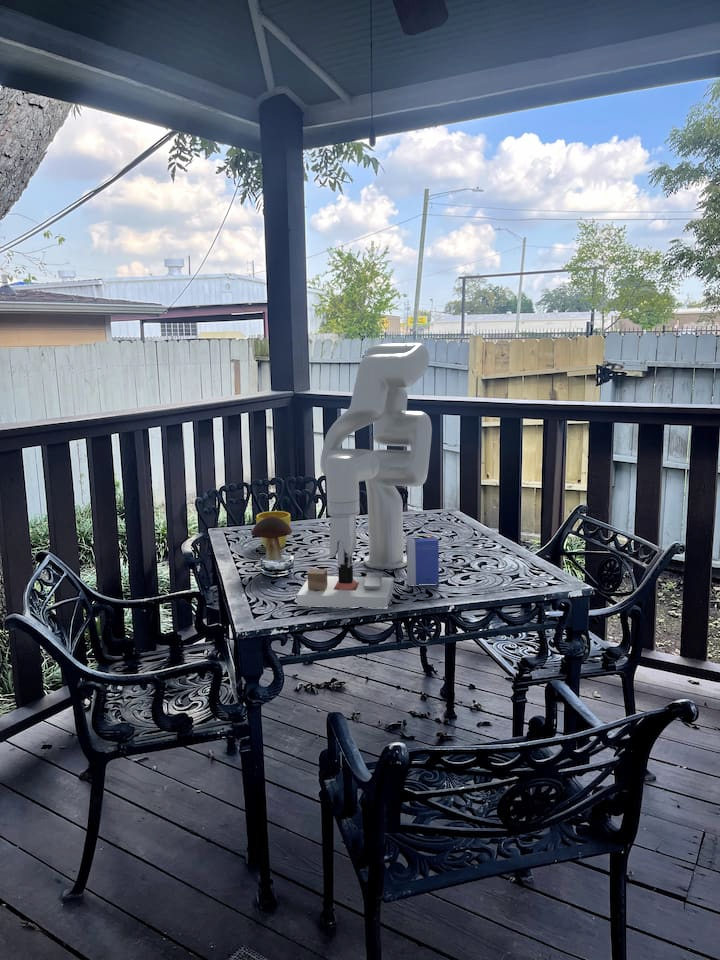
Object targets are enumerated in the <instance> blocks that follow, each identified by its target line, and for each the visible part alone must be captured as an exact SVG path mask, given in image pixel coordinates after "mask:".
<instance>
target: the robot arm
mask: <svg viewBox="0 0 720 960" xmlns="http://www.w3.org/2000/svg"><path fill="white" fill-rule="evenodd" d="M429 364H430V353H429V350H428V348H427V347H426V345H425V344H423V343H420V342H407V343H406V342H403V343H401V342H400V343H392V342H391V343H381V344H380V343H379V344H375V345H372V346H370V347H369V348H368V349H367V350H366V353H365V357H363V358H362V359H361V360H360V362H359V364H358V369H357V373H356V379H355V382H354V386H353V387H354V388H353V391H352V395H351V400H350V405H349V407H348V408H347V410H345V411H344V413H342V414H341V415H340V416H339V417H338V418H337V419H336V421H334V422H333V424H332V425H331V426H330V428H329V429H328V431H327V432H326V435H325V438H324V441H323V445H322V450H321V455H320V470H321V472H322V474H323V475H324V476H325V477H326V501H327V503H326V505H327V515H328V516H330V521H329V522H330V525H329V526H330V527H329V557H331V558H332V559H333V558H335V556H336V555H337V564H338V565H337V566H338V567H337V568H338V569H337V572H338V573H337V574H338V576H339V583H352V581H353V577H354V569H353V568H354V565H353V553H354V552H355V550H356V547H357V520H356V519H357V517H356V516H358V515H360V512H361V511H360V510H361V509H360V507H361V506H360V482H365V486H366V496H367V498H366V499H367V522H368V523H367V524H368V525H367V528H368V555H366V556H365V557H364V558H363V564H364V565H365V566H366V567H368V568H370V569H374V568H375V570H384V569H387V570H397V569H401V568H404V567H407V555H406V553H405V554H404V521H403V519H404V517H403V516H404V515H403V511H404V510H403V508H404V507H403V505H404V503H403V499H402V496H401V494H400V492H399V490H398V489H397V487H421V486H423V485H424V484H425V483H426V481H427V479H428V473H429V467H430V466H429V465H430V456H431V445H432V434H433V433H432V432H433V427H432V421H431V418H430V416H429V415H428V414H427V413H426V412H424V411H422V410H421V411H420V410H407V409H408V399H409V398H408V397H409V396H408V391H407V390H406V388H410V387H412V386H414V384H416V383H417V382H418V381H419V380H420V378H422V377H423V376H424V374H425V373H426V372H427V370H428V367H429ZM372 424H373V427H372V435H373V436H372V437H373V439H374V442H376V443H377V444H378V445H381V446H390V447H410V450H403V449H401V450H400V449H399V450H398V449H374V450H371V449H364V448H347V447H346V448H344V447H343V448H342V444H343V442H344V441H345V440H346V438H347V437H349V436H350V435H351V434H352V433H354V432H356V431H358V430H360V429H363V428H365V427H366V426H367V427H368V426H369V425H372ZM396 568H397V569H396Z"/></svg>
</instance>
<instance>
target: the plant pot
mask: <svg viewBox="0 0 720 960" xmlns="http://www.w3.org/2000/svg"><path fill="white" fill-rule="evenodd" d="M271 516H273V517H277V518H280V519H282V520H283V521H284V522H286V523H287V524H288V525H289V526H290V527H291V513H289V512H288V511H287V512H286V511H282V510H279V511H278V510H273V511H272V510H270V511H263V512H260V513H258V514H257V515H256V516H255V520H256V524H257V523H259V522H260V521H261V520H263V519H265V518H267V517H271ZM256 524H255V525H256ZM287 537H288V535H286V536H283V537H278V540H279V544H280V549H281V548H284V547H285V546H286V543H287ZM260 538H261V542H262V545H263V548H265V549H266V542H267V538H263V537H260Z"/></svg>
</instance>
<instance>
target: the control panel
mask: <svg viewBox="0 0 720 960" xmlns="http://www.w3.org/2000/svg"><path fill="white" fill-rule="evenodd" d="M365 579H366V576H353V580H355V581H356V590H337V581H339V575H338V576H334V575H333V576H332V575H331V576H329V575H327V583H328V585H327V587H326V589H325V590H309V589H308V578H307V579H306V581H305V582H304V584H303V585H302V587H300V590H299V591H298V593H297V595H296V600H297V607H298V606H333V607H334V606H335V607H341V606H342V607H388V608H389V606H388V604H389V605H390V603H389V600H390V601H391V599H390V597H391V598H392V596H391V593H392V594H393V592H392V590H393V591H394V577H383V576H382V579H381V584H380V589H364V583H365Z"/></svg>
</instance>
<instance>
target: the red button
mask: <svg viewBox="0 0 720 960" xmlns="http://www.w3.org/2000/svg"><path fill="white" fill-rule="evenodd" d="M337 590H356V581H355V580H353V581H352V583H339V581H337Z"/></svg>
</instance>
